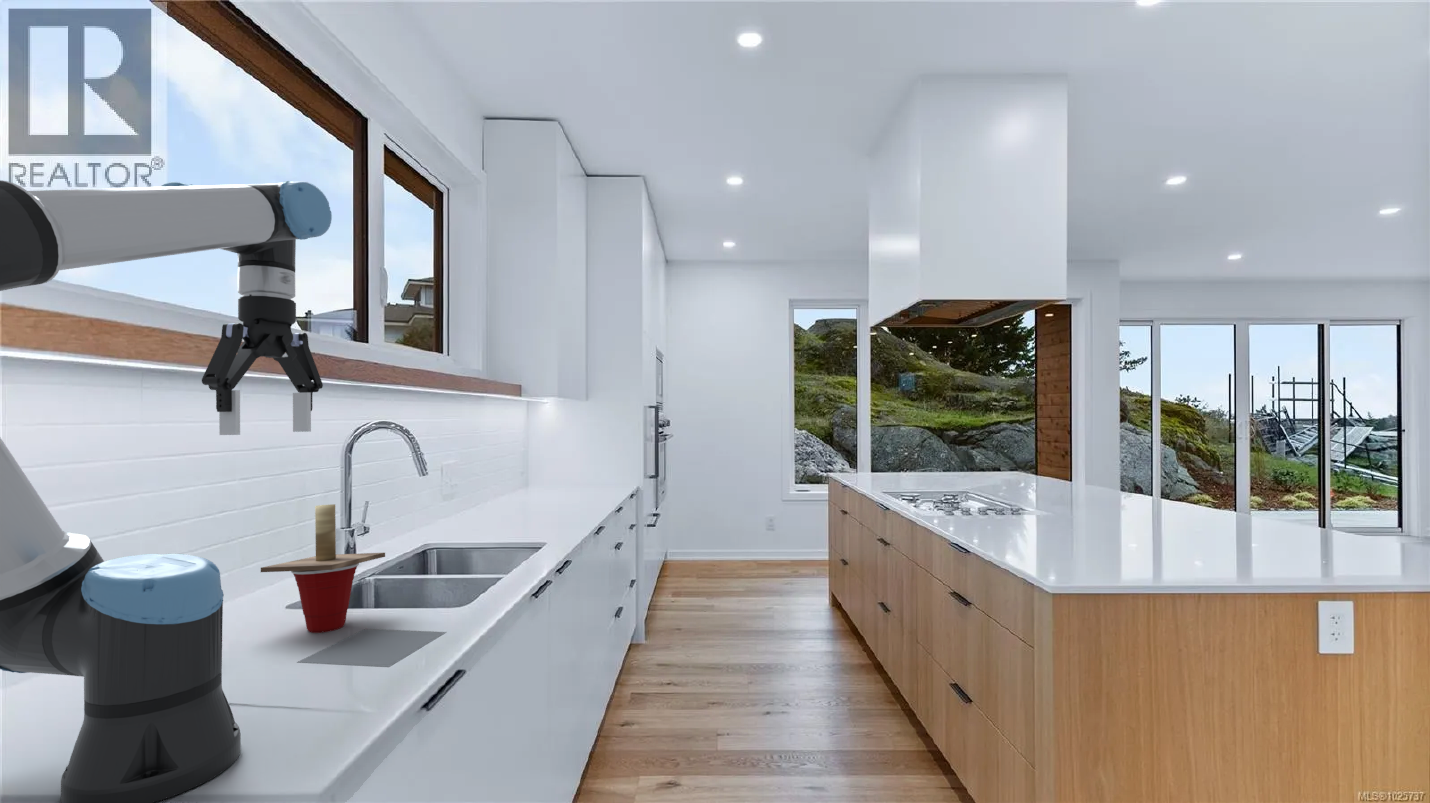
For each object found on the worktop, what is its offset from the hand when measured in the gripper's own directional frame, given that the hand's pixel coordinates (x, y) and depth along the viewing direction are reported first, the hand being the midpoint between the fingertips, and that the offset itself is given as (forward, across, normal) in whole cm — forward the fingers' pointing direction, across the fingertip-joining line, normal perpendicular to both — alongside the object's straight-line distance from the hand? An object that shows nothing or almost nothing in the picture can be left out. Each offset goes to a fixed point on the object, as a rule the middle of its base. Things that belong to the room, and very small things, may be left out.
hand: (268, 433), depth 103 cm
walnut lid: (+25, +18, +5) cm, 31 cm away
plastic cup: (+37, +18, +5) cm, 41 cm away
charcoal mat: (+37, +10, -11) cm, 40 cm away
